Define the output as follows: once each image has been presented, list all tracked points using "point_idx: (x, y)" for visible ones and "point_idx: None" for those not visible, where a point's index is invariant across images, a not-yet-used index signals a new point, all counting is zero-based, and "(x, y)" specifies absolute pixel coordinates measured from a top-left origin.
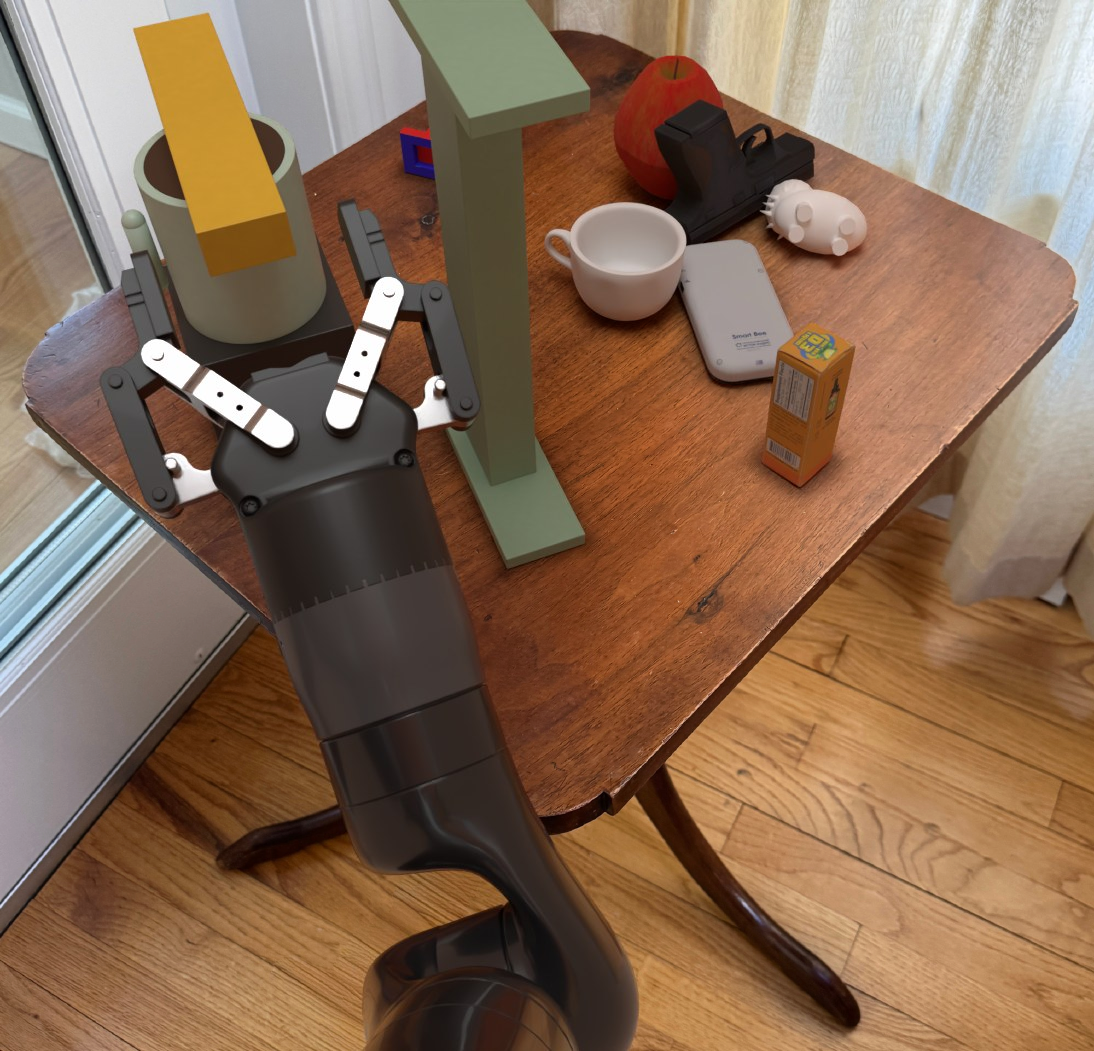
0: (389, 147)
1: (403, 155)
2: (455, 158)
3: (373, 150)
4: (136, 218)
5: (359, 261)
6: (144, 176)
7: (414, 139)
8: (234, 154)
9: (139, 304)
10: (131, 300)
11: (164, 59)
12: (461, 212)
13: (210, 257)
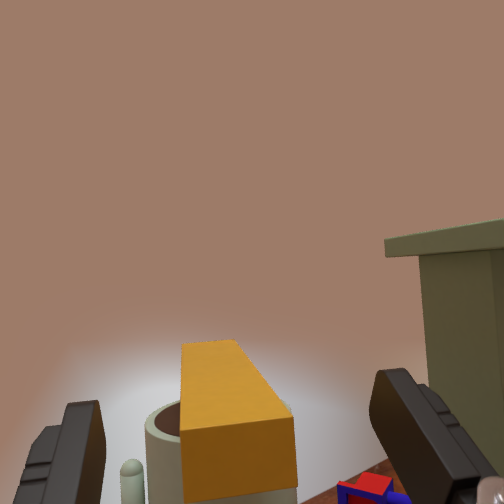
0: (326, 499)
1: (338, 502)
2: (489, 380)
3: (316, 500)
4: (134, 466)
5: (433, 446)
6: (153, 422)
7: (347, 489)
8: (239, 384)
9: (41, 483)
10: (31, 473)
11: (197, 351)
12: (497, 457)
13: (190, 471)
